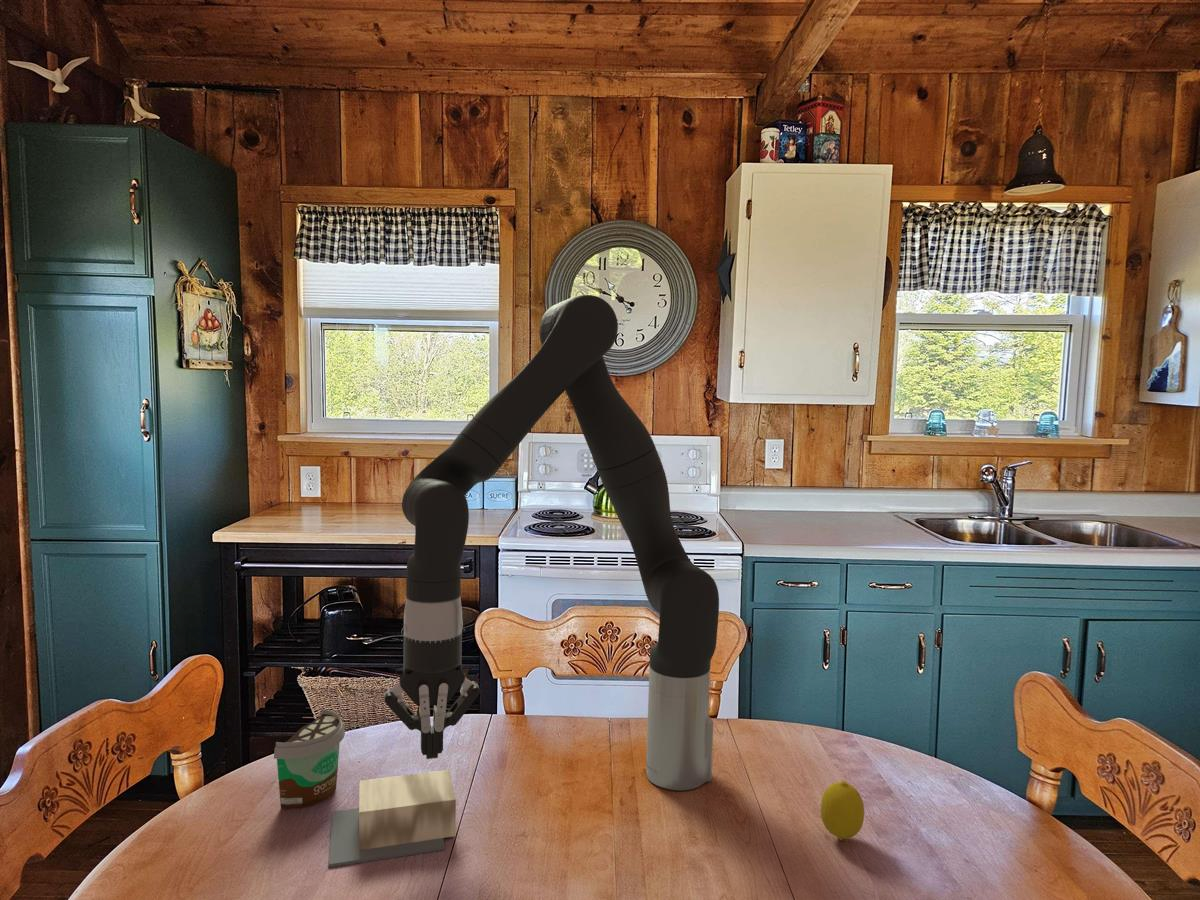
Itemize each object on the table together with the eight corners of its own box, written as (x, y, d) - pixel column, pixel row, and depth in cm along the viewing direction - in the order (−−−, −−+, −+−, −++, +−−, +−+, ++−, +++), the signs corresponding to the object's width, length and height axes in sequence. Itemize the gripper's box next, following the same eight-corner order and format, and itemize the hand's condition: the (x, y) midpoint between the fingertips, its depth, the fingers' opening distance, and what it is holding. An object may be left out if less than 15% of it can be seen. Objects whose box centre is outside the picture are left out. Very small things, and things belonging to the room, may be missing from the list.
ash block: (449, 769, 107) (359, 780, 104) (455, 799, 100) (359, 812, 96) (449, 803, 108) (359, 815, 104) (455, 836, 100) (359, 850, 97)
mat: (436, 800, 109) (436, 797, 109) (444, 849, 98) (444, 846, 98) (332, 814, 105) (332, 811, 105) (328, 867, 94) (328, 864, 94)
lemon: (840, 856, 98) (843, 796, 98) (810, 833, 103) (813, 776, 103) (871, 845, 101) (875, 787, 100) (840, 823, 106) (843, 768, 105)
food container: (314, 820, 104) (314, 749, 103) (274, 814, 105) (273, 743, 104) (360, 775, 116) (360, 711, 115) (323, 770, 117) (323, 707, 116)
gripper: (479, 618, 106) (477, 738, 108) (380, 623, 103) (379, 748, 104) (487, 635, 99) (485, 763, 101) (381, 642, 95) (380, 775, 97)
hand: (431, 755), depth 102 cm, fingers closed
